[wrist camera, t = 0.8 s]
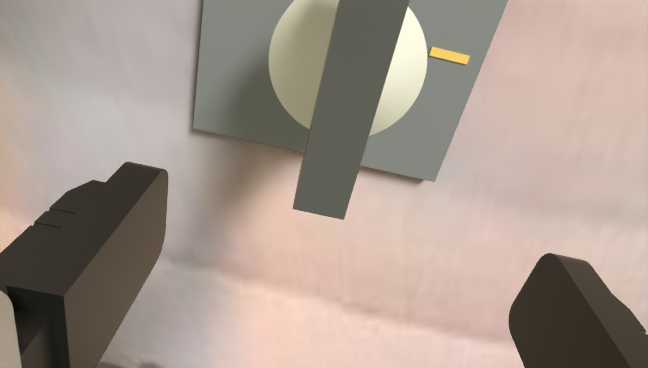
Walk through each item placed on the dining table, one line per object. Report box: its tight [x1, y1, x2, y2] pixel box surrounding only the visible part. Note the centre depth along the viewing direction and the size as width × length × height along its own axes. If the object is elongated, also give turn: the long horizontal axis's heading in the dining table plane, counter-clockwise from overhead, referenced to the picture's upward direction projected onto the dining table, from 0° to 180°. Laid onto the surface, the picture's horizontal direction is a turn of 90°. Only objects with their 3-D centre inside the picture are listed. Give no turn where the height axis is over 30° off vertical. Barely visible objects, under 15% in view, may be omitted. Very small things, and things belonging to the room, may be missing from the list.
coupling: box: [269, 0, 427, 220], centre depth 21 cm, size 11×8×8 cm
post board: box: [193, 0, 508, 182], centre depth 29 cm, size 20×20×8 cm
